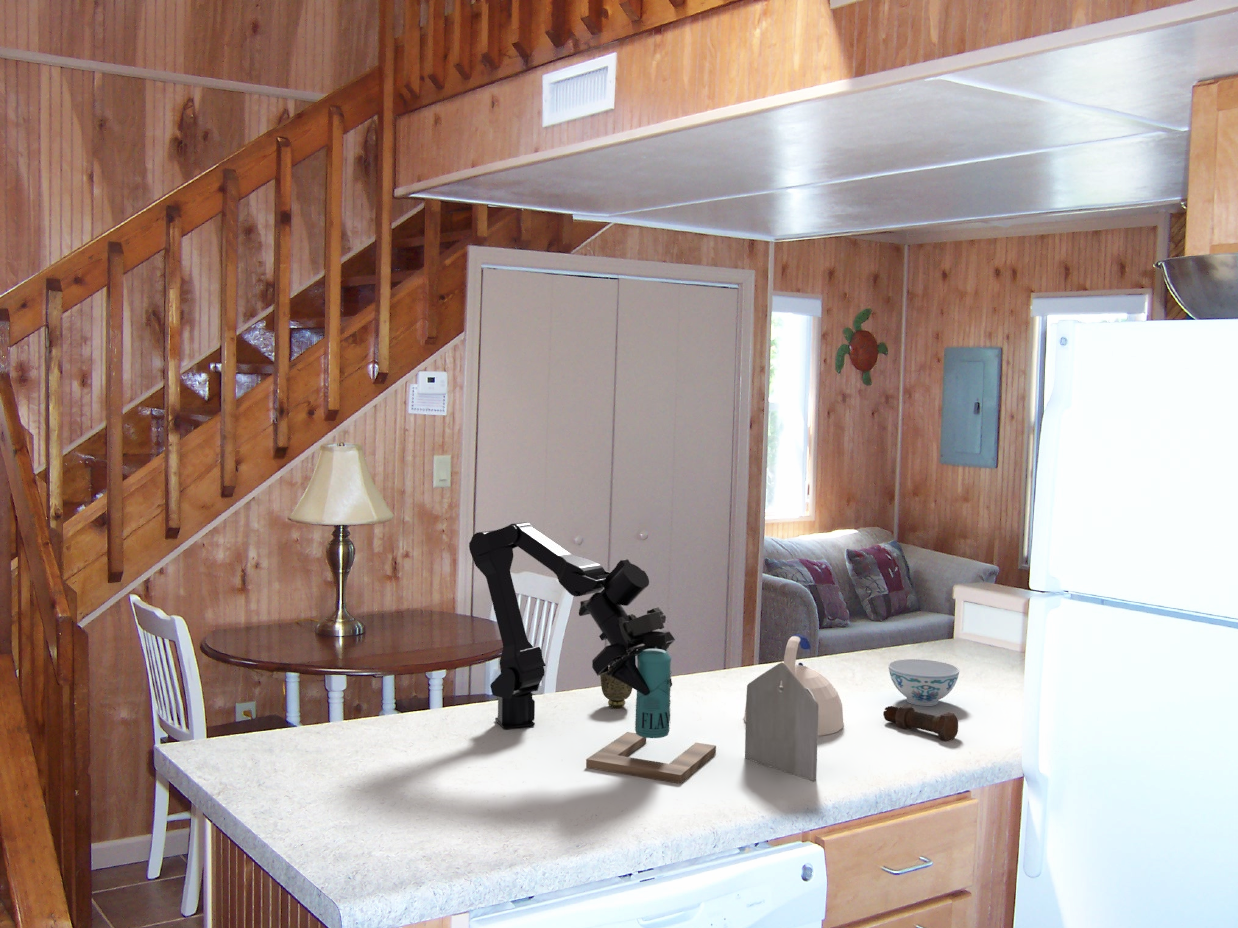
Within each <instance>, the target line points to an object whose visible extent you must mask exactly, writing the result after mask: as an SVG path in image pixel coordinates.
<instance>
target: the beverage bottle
mask: <svg viewBox="0 0 1238 928" xmlns="http://www.w3.org/2000/svg"><path fill="white" fill-rule="evenodd" d="M643 644H644V645H647V646H664V645H666V635H665V633H663V632H660V631H658V630H657V631H656V630H654V631H651V632H648V633H644V640H643ZM636 661H637V662H636V664H637V665H636V667H637V668H638V670H639V672H640V674H641V675H642V677H643V679H644V681H645V682H646V684H647V686H648V688H649V690H650V693H649V694H648V695H647V696H645V695H643V694H642V693H640V692H638V691H637V690H636V698H635V699H636V700H635V714H634V716H635V721H634V731H635V733H636V734H637V735H639V736H641V737H645V738H646V739H661V738H666V737H667V736H668V735H669V732H670V729H671V727H670V722H671V711H672V710H671V703H672V700H671V697H672V695H671V688H672V686H671V685H670V681H672V676H671V674H672V673H673V672H672V670H671V665H672V656H671V655H670V654H669V652H667V651H665V650H662V649H645V650H643V651H642V652H641V653H640V654H639V655H638V656H636Z"/></svg>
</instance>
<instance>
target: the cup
mask: <svg viewBox="0 0 1238 928" xmlns="http://www.w3.org/2000/svg"><path fill="white" fill-rule="evenodd" d="M608 667H609V668H608V672H607V673H605V674H602V675H599V676H600V677H599V678H600V685H601V691H602V694H603V696H604V697H605V698H606V699H608V701H607V705H608V706H609V707H611V708H615V709H620V708H621V709H622V708H623V707H624V706H626V700H627V699H629V697H630V696H631V694H632V691H633V688H632V687H630V686H628V685H627V684H625V683H623V682H621V681H619V680H617V679H616V678H614V677H612V676H610V677H609V676H608V675H607V674H608V673H609V672H610V671H611V669H610V665H609V666H608Z"/></svg>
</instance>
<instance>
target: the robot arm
mask: <svg viewBox="0 0 1238 928" xmlns="http://www.w3.org/2000/svg"><path fill="white" fill-rule="evenodd" d="M468 547H469V553H470V556H471V557H472V560H473V563H474V565H475V567H476V568H477V569H478V570H479V572H480V573H482V574H483V576H485V579H486V582H487V587H488V591H489V594H490V599H491V603H492V606H493V611H494V615H495V619H496V622H497V626H498V631H499V634H500V639H501V642H502V651H501V654H500V659H499V668H500V674H498V676H497V677H496V678H494V680H493V681H492V682H491V684H490V690H491V695H492V696H493V697H497V717H495V719H494V720H495V721H496V722H497V724H498V725H499V726H500V727H501V728H503V729H505V730H506V729H507V730H508V729H516V728H527V727H534V726H536V725H535V724H536V723H535V722H534V721H535V716H536V715H535V711H536V709H535V708H536V705H535V704H536V703H535V702H536V701H535V700H534V699H533V692H537V691H539V688H540V685H541V681H543V678H544V677H545V672H546V671H545V667H546V666H547V665H546V663H545V661H544V658H543V653H542V649H541V647H540V646H539V645H537V646H533V645H532V644H531V642H529V640H528V637H527V633H526V629H525V625H524V621H523V617H522V613H521V609H520V606H519V602H518V598H517V593H516V589H515V585H514V582H513V578H512V573H511V568H512V563H513V560H514V549H515V548H519V549H521V550H522V551H523V552H525V553H526V554H528V555H529V557H532V558H534V560H535V561H537V562H538V563H540V564H542V566H544V567H546V568H547V569H548V570H550V571H551V572H552V573H554V574H555V576H556V578H557V580H558V582H559V584H560V586H562V587H563V588H564V590H565V591H566V592H567V593H569V595H571V596H574V597H582V596H583V597H584V596H587V595H591V594H592V595H591V596H590V597H589V598H588V599H586V600H581V601H580V602H579V603H580V605H579V609H578V616H579V617H583V616H587V615H590V616H591V618H592V619H593V621H594V622H595V624H596V625H597V627H598V628H599V630H600V632H601V633H600V635H599V638H600V641H607V642H608V644H609V645H607V646H605V647H604V648H603V649H602V650H601V651H600V652H599V653H598V654H597V655H596V656H594V658H593V659H592V660H591V669H593V671H594V673H595V674H596V676H597V677H598V676H600V675H602V674H605V673H607V672H608V669H609V666H610V669H611V671H610V672H609V673H608V674H607V675H608V676H609V677H610V676H612V677H614V678H616V679H617V680H619V681H621V682H623V683H625V684H627V685H628V686H630V687H632V689H633V690H635V691H636V692H637V691H638V692H640V693H642V694H643V695H645V696H647V695H648V694H649V693H650V690H649V688H648V686H647V684H646V682H645V681H644V679H643V677H642V675H641V674H640V672H639V670H638V668H637V665H636V664H637V662H636V661H637V659H636V657H637V656H638V655H639V654H640V653H641V652H642V651H643V650H645V649H662V650H665V651H666V652H667V650H668V649H669V648H670V646H671V645H672V644H673V643H674V642H675V641H676V639H675V637H674V636H673V634H672V632H670V631H669V630H662V629H664V628H665V625H664V624H665V623H666V618H667V617H666V615H665V614H664V612H663V611H662V609H661V608H659V607H653V608H651V609H648V610H647V611H646V614H643V615H641V616H636V615H635V614H633V613H632V614H628V613H627V612H626V610H625V609H624V607H625V606H626V607H628V606H630V605H631V604H632V603H633V602H634V601H635V600H636V599H637V598H638V597H639V595H641V594H642V592H644V591H645V590H646V588H648V586H649V585H650V580H649V576H648V574H647V573H646V571H645V570H643V569H641V568H640V567H639V566H637V565H636V564H633V563H631V561H630V560H629V559H628V558H625V559H620V561H619V562H617V564H616V566H615V567H614V568H613V569H612V570H611V571H609V570H606V569H604V567H603V566H602V565H601V564H599V563H598V562H595V561H593V560H590V559H588V558H584V557H581V556H577V555H574V554H572V553H570V552H568V551H567V549H566V550H565V549H564V548H563V547H561V545H559V544H557V543H556V542H554V541H553V540H551V539H550V538H549V537H547V536H546V535H544V534H543V533H541V532H540V531H538V530H537V529H535V528H534V526H533V525H532V524H531V523H529V522H525V521H524V522H522V521H521V522H514V523H510V524H508V525H507V526H505V527H502V528H499V529H496V530H487V531H479V532H475V533H474V534H473V536H472V537H471V538H470V541H469V543H468ZM656 630H657V631H658V630H661V631H659V632H663V633H665V635H666V645H664V646H647V645H644V644H643V640H644V633H648V632H651V631H656ZM670 685H671V687H672V686H673V682H672V680H671V681H670Z"/></svg>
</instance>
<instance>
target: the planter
mask: <svg viewBox="0 0 1238 928" xmlns="http://www.w3.org/2000/svg"><path fill="white" fill-rule="evenodd" d="M781 681H782V686H783V687H779V686H780V684H781ZM745 700H746V701H745V707H746V722H745V733H744V734H745V735H744V736H745V740H744V743H745V744H744V758H745V759H747V760H749V761H752V762H756V763H758V764H761V765H764V766H766V767H770V768H772V769H775V770H778V771H782V772H784V773H788V774H791V775H793V776H796V777H799V778H802V779H805V780H808V781H811V782H816V781H817V772H818V768H817V765H818V764H817V763H818V738H819V736H818V703H817V701H816V699H815V697H814V695H813V693H812V692H811V691H810V689H809V688H804V686H803V685H802V684H801V683H800V682H799V680H798V679H797V678H796V677H795V676H794V675H793V673H792V672H791V671H790V670H789V669H788V667H787V666H786V665H785V664H784V662H779V663H777V664H776V665H774V666H772V667H771V668H770V669H768V670H766V671H765V672H764V673H762V674H760V675H759V676H757V677H756V678H754V679H753V680H752V681H750V682H749V683H748V684H747V685H746V699H745Z"/></svg>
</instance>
